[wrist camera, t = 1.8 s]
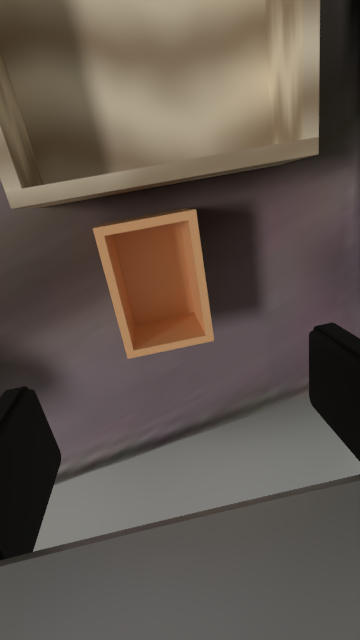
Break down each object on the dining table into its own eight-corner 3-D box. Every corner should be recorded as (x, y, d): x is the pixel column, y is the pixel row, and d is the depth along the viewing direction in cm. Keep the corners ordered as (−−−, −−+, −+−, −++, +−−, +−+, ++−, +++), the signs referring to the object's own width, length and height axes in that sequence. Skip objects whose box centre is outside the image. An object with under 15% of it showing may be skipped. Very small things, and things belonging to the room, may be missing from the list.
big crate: (-66, -121, 17) (-164, -275, 12) (267, -160, 18) (323, -318, 13) (40, 207, 24) (11, 208, 18) (279, 164, 25) (318, 154, 20)
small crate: (102, 222, 25) (92, 228, 20) (183, 208, 26) (196, 209, 20) (130, 329, 29) (127, 358, 23) (200, 314, 29) (214, 340, 24)
